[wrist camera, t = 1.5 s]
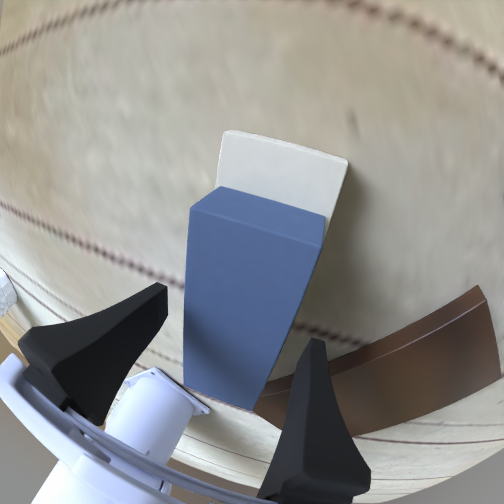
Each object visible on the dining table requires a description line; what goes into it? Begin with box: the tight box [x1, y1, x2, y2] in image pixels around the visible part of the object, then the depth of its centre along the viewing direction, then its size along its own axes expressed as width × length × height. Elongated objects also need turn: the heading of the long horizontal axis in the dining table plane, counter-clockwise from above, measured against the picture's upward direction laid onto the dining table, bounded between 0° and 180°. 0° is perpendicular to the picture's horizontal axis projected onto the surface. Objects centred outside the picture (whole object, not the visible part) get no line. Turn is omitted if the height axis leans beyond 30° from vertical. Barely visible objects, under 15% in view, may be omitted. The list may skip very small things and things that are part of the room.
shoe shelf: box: [253, 285, 501, 437], centre depth 17 cm, size 20×10×2 cm, turn 134°
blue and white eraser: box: [183, 130, 348, 411], centre depth 14 cm, size 16×6×4 cm, turn 169°
